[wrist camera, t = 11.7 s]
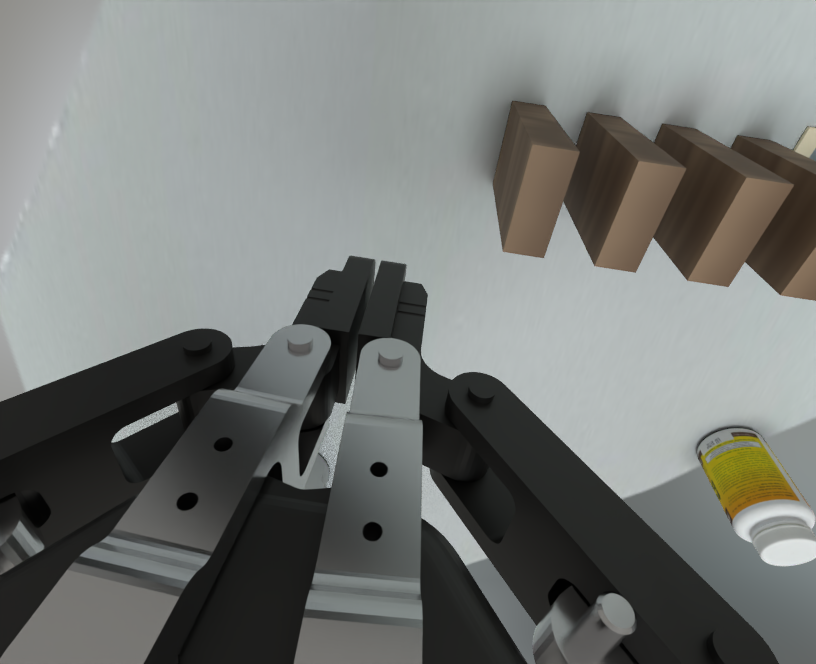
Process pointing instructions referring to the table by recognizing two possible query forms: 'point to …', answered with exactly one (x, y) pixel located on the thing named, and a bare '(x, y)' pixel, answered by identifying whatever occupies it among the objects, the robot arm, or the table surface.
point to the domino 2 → (619, 191)
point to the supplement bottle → (759, 496)
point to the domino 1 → (531, 178)
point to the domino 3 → (715, 206)
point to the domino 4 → (786, 221)
